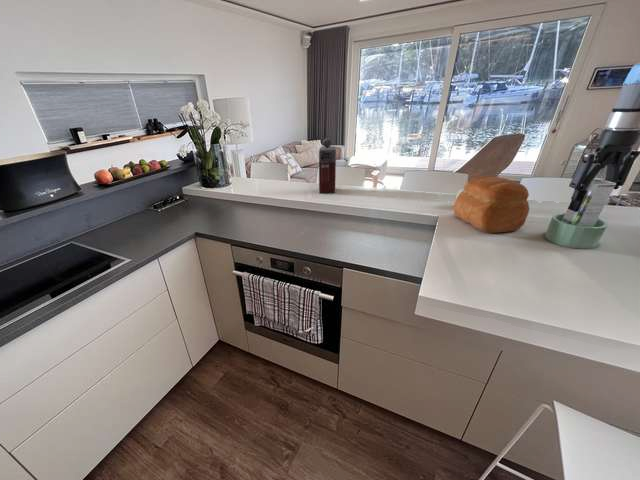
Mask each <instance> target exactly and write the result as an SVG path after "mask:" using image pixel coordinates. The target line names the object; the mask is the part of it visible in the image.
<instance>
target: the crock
mask: <svg viewBox="0 0 640 480" xmlns="http://www.w3.org/2000/svg"><path fill="white" fill-rule="evenodd" d="M565 213H566V212H563V213H562V212H561V213H555V214H554V215H552V217H551V219H550V221H549V224H548V226H547V229H546V231H545V233H544V238H545V239H546V240H547V241H549V242H550V243H553V244H556V245H559V246H563V247H566V248H572V249H584V250H585V249H594V248H596V247H597V245H598V244H599V242H600V241H601V239H602V237H603V235H604V234H605V231H606V229H607V228H608V226H609V224H608V222H607V221H606V220H604V219H602V218H599V217H598V219H597V221H596V223H595V225H594V227H583V226H576V225H571V224H567V223H564V222H561V221H562V219H563V217H564V215H565Z"/></svg>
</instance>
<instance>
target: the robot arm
mask: <svg viewBox="0 0 640 480" xmlns="http://www.w3.org/2000/svg"><path fill="white" fill-rule="evenodd" d="M604 128H605V129H603V130H602V131H601V134H600V136H599V138H598V140H597V144H598V146H597V147H596V149H594V151H593V152H589V153H588V152H584V153H583V154H582V155H581V161H580V163H579V165H578V167H577V169H576V171H575V173H574V175H573V177H572V179H571V181H570V182H569V185H568V187H569V188H571V189H574V191H573V193H572V195H571V197H570V199H571V200H572V201H571V200H570V202H571V203H570V202H569V204H570V205H569V204H568V206H569V207H568V206H567V209H570V210H572V211H575V212H578V210H579V208H580V206H581V204H582V201H583V199H584V197H585V195H586V193H587V191H586V190H585V189H586V188H587V186H588V185H589V184H590V183H591V181H592V180H593V179H594V178H596V177H597V175H598V174H599V173H600V171H601V170H602V169H605V168H606V171H605V172H606V173H605V179H604V180H607V181H610V182H614V183H616V185H615V187H614V189H613V190H618V189H620V187H623V186H624V185H625V183H626V181H627V178H628V177H629V174H630V172H631V170H632V168H633V165H634V163H635V161H636V160H637V159H638V157H639V156H640V150H635V149H632V146H634V145H636V144H637V143H638V142H639V139H640V61H639V62H637V63H635V64H634V65H633V66H632V67H631V69H630V71H629V72H628V74H627V76H626V78H625V79H624V81H623V83H622V86H621V89H620V92H619V94H618V96H617V98H616V101H615V103H614V105H613V108H612V110H611V111H610V114H609V116H608V118H607V121H606V123H605V125H604ZM581 185H582V186H581ZM613 190H612V192H611V194H612V193H613ZM611 194H610V196H609V198H610V197H611Z"/></svg>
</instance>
